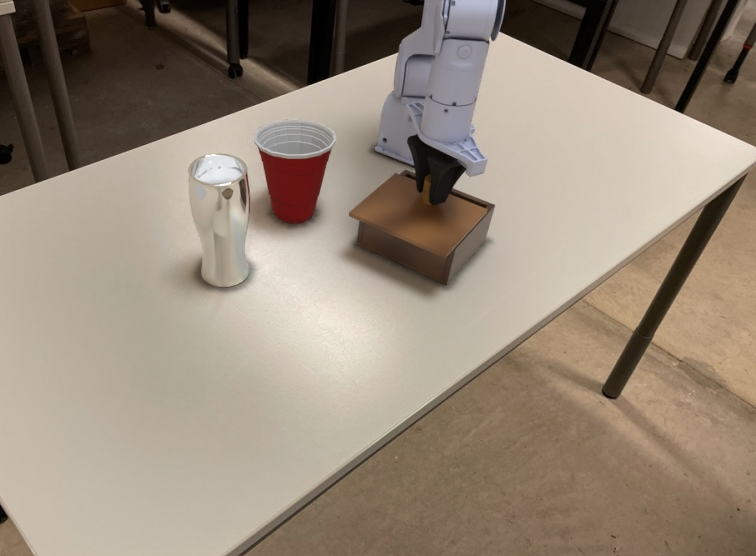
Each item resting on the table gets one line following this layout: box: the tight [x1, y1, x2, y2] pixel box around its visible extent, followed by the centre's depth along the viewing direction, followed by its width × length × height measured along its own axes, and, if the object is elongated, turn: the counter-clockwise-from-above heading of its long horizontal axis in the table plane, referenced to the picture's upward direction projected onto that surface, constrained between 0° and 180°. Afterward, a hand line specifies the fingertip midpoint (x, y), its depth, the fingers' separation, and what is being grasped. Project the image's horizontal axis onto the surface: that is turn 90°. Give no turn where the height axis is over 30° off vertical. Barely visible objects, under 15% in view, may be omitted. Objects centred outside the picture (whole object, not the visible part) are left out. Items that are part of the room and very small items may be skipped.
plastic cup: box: [253, 119, 337, 224], centre depth 89 cm, size 11×11×12 cm
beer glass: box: [187, 152, 251, 288], centre depth 79 cm, size 7×7×15 cm
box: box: [356, 169, 496, 286], centre depth 88 cm, size 14×12×6 cm
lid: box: [348, 172, 488, 258], centre depth 82 cm, size 14×12×4 cm
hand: (431, 196), depth 85 cm, fingers closed on lid, 2 cm apart
